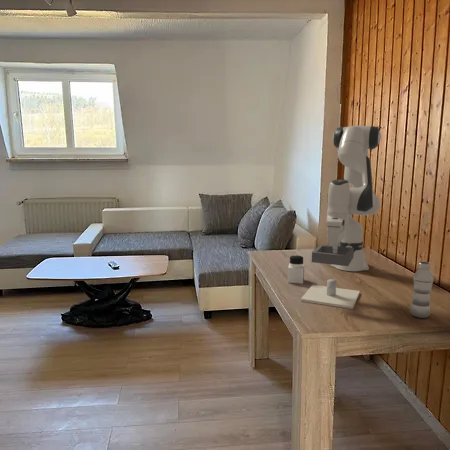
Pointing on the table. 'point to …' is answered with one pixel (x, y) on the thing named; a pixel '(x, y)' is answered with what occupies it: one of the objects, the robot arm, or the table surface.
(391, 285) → the table surface
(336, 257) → the grey rectangular frame
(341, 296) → the post stand
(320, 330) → the table surface
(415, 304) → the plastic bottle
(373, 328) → the table surface
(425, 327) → the table surface
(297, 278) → the medicine bottle
